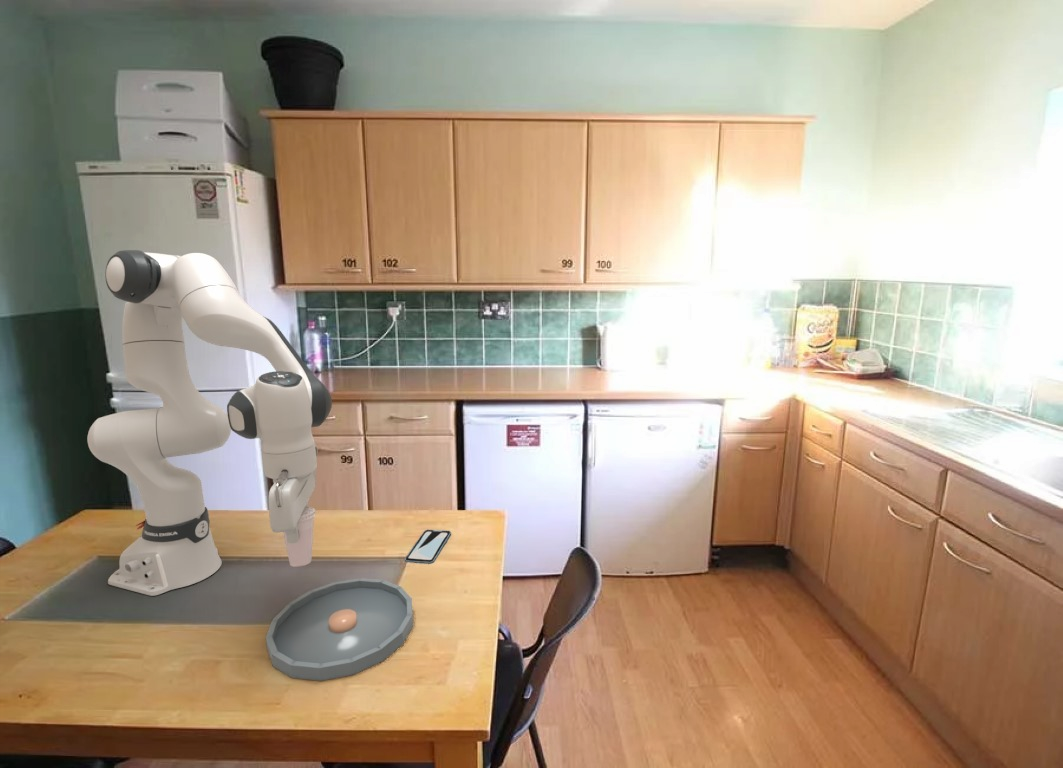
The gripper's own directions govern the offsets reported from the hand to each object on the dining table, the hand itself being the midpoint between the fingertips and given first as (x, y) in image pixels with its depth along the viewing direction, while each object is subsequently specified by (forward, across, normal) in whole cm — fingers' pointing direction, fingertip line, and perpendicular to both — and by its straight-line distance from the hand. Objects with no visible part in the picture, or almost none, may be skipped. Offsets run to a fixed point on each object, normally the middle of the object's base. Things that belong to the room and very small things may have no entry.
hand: (298, 532), depth 99 cm
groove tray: (+20, -2, -7) cm, 21 cm away
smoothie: (+6, -1, 0) cm, 6 cm away
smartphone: (+20, +26, -23) cm, 40 cm away
